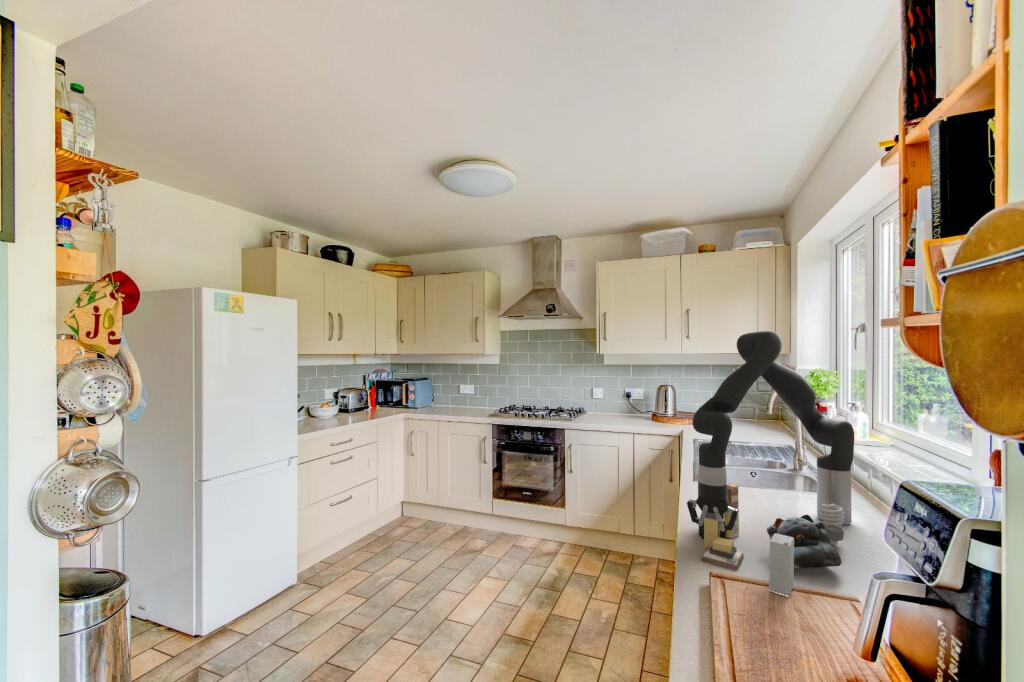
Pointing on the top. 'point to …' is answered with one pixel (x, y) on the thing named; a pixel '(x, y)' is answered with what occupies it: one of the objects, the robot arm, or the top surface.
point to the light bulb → (832, 530)
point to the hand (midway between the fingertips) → (712, 540)
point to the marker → (710, 529)
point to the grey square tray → (723, 558)
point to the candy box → (732, 502)
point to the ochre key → (723, 545)
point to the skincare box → (781, 564)
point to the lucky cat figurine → (807, 542)
